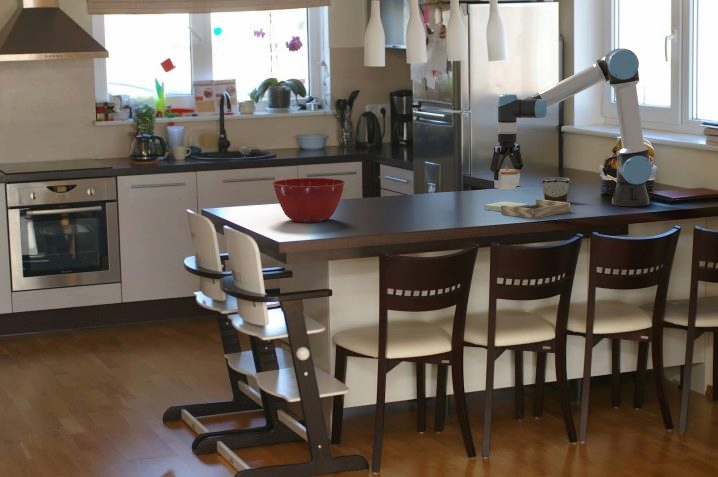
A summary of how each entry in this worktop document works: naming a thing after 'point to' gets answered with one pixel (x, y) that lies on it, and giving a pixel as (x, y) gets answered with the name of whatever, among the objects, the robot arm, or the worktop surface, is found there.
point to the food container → (556, 188)
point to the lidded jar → (509, 178)
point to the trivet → (498, 205)
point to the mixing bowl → (309, 198)
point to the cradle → (537, 209)
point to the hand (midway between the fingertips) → (506, 186)
